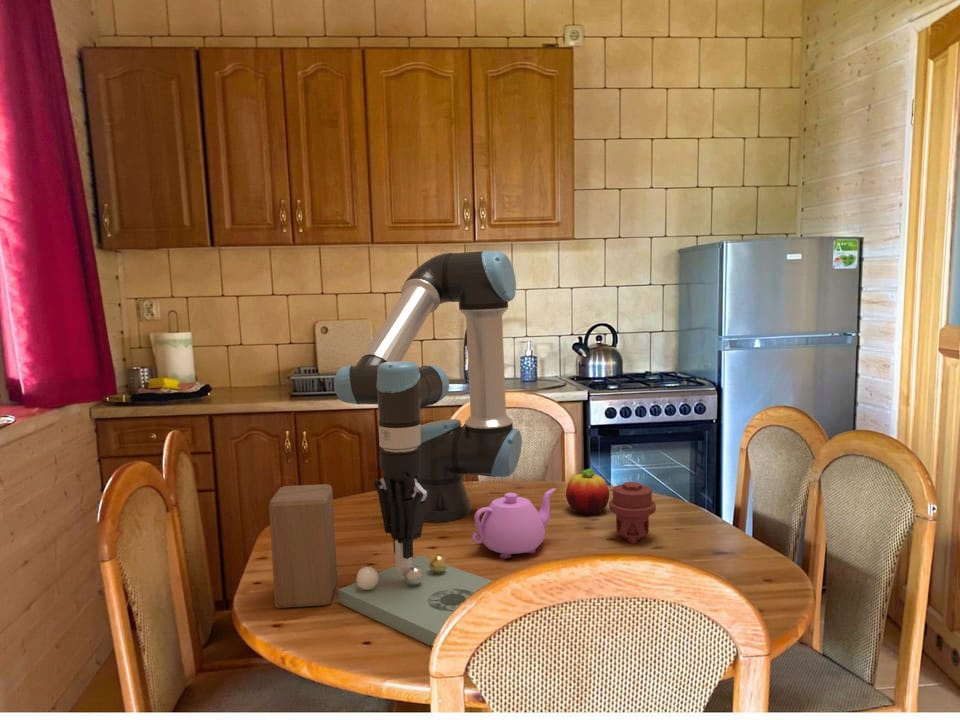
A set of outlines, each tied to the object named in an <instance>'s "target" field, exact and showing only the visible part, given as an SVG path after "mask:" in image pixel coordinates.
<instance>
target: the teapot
mask: <svg viewBox="0 0 960 720" xmlns="http://www.w3.org/2000/svg"><path fill="white" fill-rule="evenodd" d="M556 489H557V488H556V487H554V488H553V487H552V488H551V489H549V490H546V491H545V493H544V494H543V496H542V500H541V504H540V505H541V507H540V509H539V511H538V510H537V508H536V507H535V505H534V504H533V503H532V501H531V500H529V499H527V498H526V497H521V496H518V493H515V492H507V493H504V496H501V497H498V498H495V499H493V500H492V501H491V503H490V504H488V506H484V507H483V506H482V507H481V508H478V510H477V511H476V512H475V513H474V523H475V527H476V530H477V531H475V532H473V534H472V535H471V539H472V541H473V543H476V544H481V543H482V544H483V545H484V546H485V547H486V548H487V549H488V550H490V551H493V552H495V553H498V554H499V558H502V559H509V558H511V557H512V555H514V554H515V555H517V554H524V553H526V554H535V553H536V552H537V550H536V549H538V547H539V546H540V545H541V544H542V542H544V540H545V537H546V529H545V528H546V527H547V526H548V524H549V522H550V518H551V497H552V495H553V494H554V492H555V491H556ZM483 513H484V514H483ZM482 514H483V516H482V518H481V521H480V517H481V515H482ZM477 536H478V538H477Z"/></svg>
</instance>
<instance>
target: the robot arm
mask: <svg viewBox="0 0 960 720" xmlns="http://www.w3.org/2000/svg"><path fill="white" fill-rule="evenodd" d="M516 281H517V280H516V275H515V270H514V266H513V263H512V261H511V260H510V257H509V256H508V255H507V254H506V253H505V252H502V251H500V250H499V251H498V250H481V251H467V252H465V251H464V252H445V253H441V254H438V255H435V256H434V257H431V258H430V259H427V260H426V261H425V262H423V263H422V264H421V265H419V266H418V267H416V269H414V271H413V272H412V273H410V275H409V276H408V277H407V279H406V280H404V283H403V285H402V286H401V289H400V295H401V296H400V297H399V299H398V300H397V301H396V303H395V305H394V306H393V308H392V309H391V311H390V312H389V314H388V315H387V317H386V318H385V320H384V321H383V323H382V324H381V326H380V328H379V329H378V331H377V333H376V334H375V335H374V337H373V339H372V340H371V342H370V343H369V345H368V347H367V348H366V349H365V351H364V352H363V355H362V356H361V357H360V358H359V361H358V362H357V363H356V365H353V364H352V365H351V364H350V365H347V366H345V365H344V366H343V367H340V368H339V369H338V370H337V372H336V374H335V377H334V381H333V386H334V387H333V389H334V392H335V394H336V396H337V398H338V400H340V402H343V403H345V404H346V403H347V404H353V405H377V409H378V411H377V412H378V413H377V415H378V439H379V440H378V441H379V443H378V445H379V447H381V449H380V450H378V451H379V452H378V453H379V455H378V456H379V468H380V470H381V471H382V472H383V474H382V478H380V479H378V480H375V481H374V487H375V490H376V492H377V495H378V501H379V506H380V511H381V517H382V521H383V528H384V532H385V533H386V534H390V535H391V536H390V537H391V538H392V539H393V541H392V542H393V554H394V555H395V558H394V559H395V566H396V575H398V576H400V577H401V576H404V574H405V571H406V570H407V569H408V568H409V567H411V566H412V558H414V557H413V556H414V543H413V542H414V540H416V539H420V538H421V537H422V534H423V533H422V532H423V526H424V522H433V523H434V522H435V523H439V522H441V523H442V522H451V521H455V520H458V519H462V518H465V517H467V516H468V515H470V513H471V500H470V499H469V497H468V494H467V491H466V488H465V487H466V486H465V485H464V482H463V480H464V479H463V475H467V476H468V475H470V476H480V477H481V476H482V477H491V478H497V477H498V478H506V477H510V476H511V475H512V474H513V473H514V472H515V470H516V468H517V467H518V464H519V460H520V456H521V453H522V445H523V444H522V442H523V440H522V439H523V437H522V435H521V430H519V429H517V428H514V424H513V419H512V418H511V417H510V416H509V415H508V414H507V406H506V405H507V403H506V384H505V383H506V381H505V359H504V358H505V356H504V354H505V353H504V330H503V315H504V314H505V312H506V311H507V310H508V309H509V302H511V301H513V300H514V299H515V297H516V293H517V292H516V289H517V282H516ZM444 303H458V309H459V312H460V313H461V314H463V316H464V317H465V322H466V323H465V324H466V327H465V328H466V343H467V344H466V345H467V346H466V347H467V365H468V369H467V370H468V385H469V386H468V389H469V405H470V406H469V410H470V415H469V417H468V418H467V419H466V420H465V422H464V426H462V425H463V424H462V422H461V420H460V419H456V418H455V419H454V418H453V419H452V418H450V419H442V420H437V421H436V420H435V421H431V422H428V423H423V424H421V409H422V408H426V407H428V406H433V405H434V404H437V403H439V402H441V401H442V400H443V399H444V398H445V397H446V395H447V394H448V392H449V389H450V380H449V376H448V375H447V373H446V372H445V370H444V369H443V368H441V367H439V366H437V365H432V364H431V365H426V364H425V365H422V366H419V365H418V364H417V363H416V361H415V362H414V361H408V360H407V361H406V360H405V361H404V360H403V359H404V358H405V356H406V354H407V352H408V351H409V348H411V345H412V344H413V341H415V338H416V337H417V335H418V333H419V332H420V330H421V329H422V327H423V325H424V323H425V322H426V320H427V318H428V316H429V315H430V314H431V313H433V312H435V311H436V310H437V309H438V308H439V306H440V305H442V304H444Z"/></svg>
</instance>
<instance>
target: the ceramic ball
mask: <svg viewBox="0 0 960 720" xmlns="http://www.w3.org/2000/svg"><path fill="white" fill-rule="evenodd" d="M378 573H379V572H378V571H377V570H376V569H375V568H374V567H371V566H363V567H362V568H360V569H359V571H358V572H357V573H356V577H355V583H356V582H357V585H358V586H359V587H360V588H361V589H363V590H370V589H373V588H374V587H375V586H376V585H377V583H378V579H379V577H378Z"/></svg>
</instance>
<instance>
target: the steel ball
mask: <svg viewBox="0 0 960 720" xmlns="http://www.w3.org/2000/svg"><path fill="white" fill-rule="evenodd" d="M423 577H424V574H423V571H422V569H421V568H420V567H418V566H411V567H409V568H408V569H407V570H406V571H405V574H404V578H405V581H406V582H407V584H409V585H411V586H416V585H419V584H420V583H421V582H422V580H423Z"/></svg>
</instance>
